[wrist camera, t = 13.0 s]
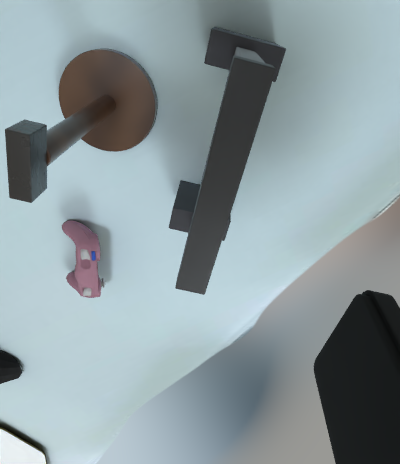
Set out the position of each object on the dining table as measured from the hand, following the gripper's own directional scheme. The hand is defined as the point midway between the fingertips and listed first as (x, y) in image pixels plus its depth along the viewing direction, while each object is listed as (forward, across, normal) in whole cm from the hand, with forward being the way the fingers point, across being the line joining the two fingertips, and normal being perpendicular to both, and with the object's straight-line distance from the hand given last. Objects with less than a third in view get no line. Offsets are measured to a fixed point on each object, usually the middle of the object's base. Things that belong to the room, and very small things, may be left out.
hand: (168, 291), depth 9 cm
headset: (+31, -2, +5) cm, 32 cm away
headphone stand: (+31, +10, +4) cm, 33 cm away
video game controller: (+31, +11, +24) cm, 41 cm away
